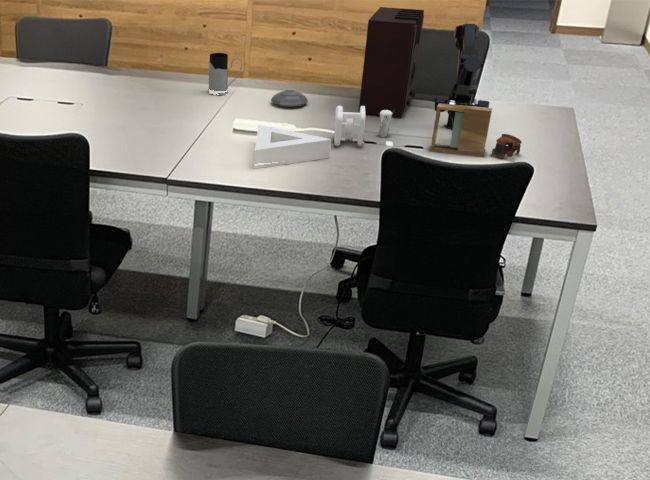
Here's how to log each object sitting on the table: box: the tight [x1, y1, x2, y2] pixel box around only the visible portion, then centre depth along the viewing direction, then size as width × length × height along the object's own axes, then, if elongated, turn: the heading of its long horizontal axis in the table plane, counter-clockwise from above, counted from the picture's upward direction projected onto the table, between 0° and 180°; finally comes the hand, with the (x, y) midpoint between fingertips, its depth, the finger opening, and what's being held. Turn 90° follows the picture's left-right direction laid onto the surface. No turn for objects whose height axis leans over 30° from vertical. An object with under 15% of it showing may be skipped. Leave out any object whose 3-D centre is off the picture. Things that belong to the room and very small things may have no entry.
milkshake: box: [378, 110, 394, 138], centre depth 360 cm, size 4×5×10 cm
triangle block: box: [253, 124, 332, 170], centre depth 346 cm, size 30×26×6 cm
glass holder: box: [208, 52, 243, 96], centre depth 406 cm, size 9×14×15 cm, turn 96°
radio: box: [357, 6, 425, 119], centre depth 382 cm, size 19×27×35 cm
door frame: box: [429, 103, 493, 158], centre depth 344 cm, size 5×19×16 cm, turn 71°
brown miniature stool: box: [490, 133, 522, 160], centre depth 343 cm, size 12×10×8 cm
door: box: [449, 111, 464, 148], centre depth 345 cm, size 7×9×12 cm
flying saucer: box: [270, 89, 309, 108], centre depth 395 cm, size 15×15×6 cm
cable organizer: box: [333, 105, 366, 148], centre depth 353 cm, size 15×11×12 cm
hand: (456, 127), depth 347 cm, fingers closed on door, 2 cm apart
